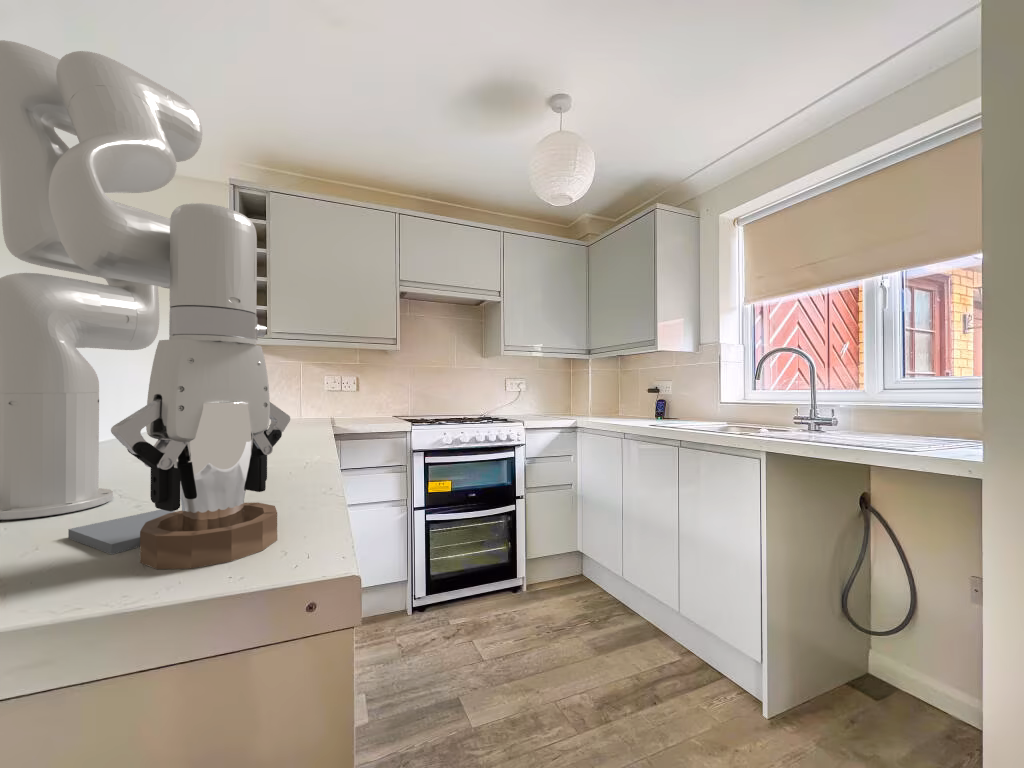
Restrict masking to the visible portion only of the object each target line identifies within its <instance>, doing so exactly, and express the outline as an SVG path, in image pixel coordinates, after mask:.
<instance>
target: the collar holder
mask: <svg viewBox="0 0 1024 768" xmlns="http://www.w3.org/2000/svg"><path fill="white" fill-rule="evenodd" d="M244 520H245V522H243V523H240V524H236V525H232V526H229V527H223V528H216V529H209V530H202V531H181V528H182V510H176V511H175V512H173V513H168V514H166V515H163V516H161V517H158V518H155V519H153V520H150V521H148V522H145V524H144V526H143V527H142V529H141V531H140V547H139V563H140V564H141V565H145V566H148V567H150V568H152V569H155V570H179V569H181V570H182V569H186V570H187V569H192V570H193V569H196V568H202V567H203V568H204V567H207V566H212V565H218V564H219V565H220V564H225V563H230V562H234V561H236V560H239V559H242V558H245V557H247V556H251V555H253V554H254V555H255V554H257V553H260V552H263V551H264V550H265V549H267V548H269V547H270V546H271V545H272V544H274V543H276V541H278V510H277V508H276V505H271V504H267V503H262V502H244Z"/></svg>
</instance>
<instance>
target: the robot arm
mask: <svg viewBox="0 0 1024 768" xmlns="http://www.w3.org/2000/svg"><path fill="white" fill-rule="evenodd" d="M55 129H57V130H61V131H64V132H66V133H69V134H71V135H73V136H76V137H77V140H78V143H77V144H75V145H73V146H72V147H69V146H68V145H67V143H66V142H65V141H63V139H62V138H61V137H60V136H59V134H58V133H57V132H56V130H55ZM202 141H203V126H202V122H201V119H200V118H199V114H198V113H197V111H196V110H195V108H194V107H193V105H192V104H190V102H189V101H188V100H186V99H185V98H184V97H182V96H181V95H179V94H177V93H175V92H174V91H172V90H170V89H168V88H167V87H164V86H163V85H161V84H159V83H157V82H156V81H154V80H152V79H150V78H148V77H147V76H145V75H143V74H141V73H139V72H138V71H136V70H134V69H132V68H130V67H128V66H127V65H125V64H124V63H121V62H120V61H117V60H115V59H113V58H111V57H108V56H107V55H103V54H100V53H96V52H92V51H87V50H84V51H83V50H78V51H72V52H69V53H66V54H65V55H63V56H62V57H61V58H57V57H55V56H54V55H52V54H49V53H46V52H44V51H42V50H41V49H40V50H39V49H37V48H34V47H32V46H29V45H27V44H23V43H19V42H15V41H12V40H10V41H9V40H3V39H2V40H0V204H1V205H0V206H1V207H0V208H1V222H2V223H1V224H2V225H1V226H2V236H3V239H4V243H5V246H6V248H7V250H8V251H9V253H10V254H11V255H12V256H13V257H14V258H17V259H18V260H20V261H22V262H25V263H28V264H31V265H36V266H39V267H45V268H50V269H54V270H59V271H60V270H61V271H63V272H65V271H66V272H70V273H74V274H80V275H86V276H92V277H97V278H102V279H104V280H105V281H106V283H107V284H104V283H98V282H91V281H88V280H83V279H77V278H71V277H65V276H59V275H53V274H48V273H47V274H46V273H35V272H19V273H17V272H16V273H11V274H7V275H4V276H1V277H0V521H9V520H23V519H34V518H41V517H48V516H56V515H62V514H67V513H73V512H77V511H82V510H87V509H90V508H95V507H98V506H102V505H104V504H106V503H108V502H111V501H112V500H113V499H114V491H113V490H111V489H110V488H109V489H108V488H99V470H100V469H99V462H100V461H99V455H100V453H99V452H100V450H99V449H100V447H99V446H100V443H99V442H100V431H99V430H100V381H99V377H98V374H97V372H96V370H95V369H94V367H93V366H92V365H91V364H90V362H89V361H88V360H87V359H86V358H85V357H84V356H83V355H82V354H81V352H80V351H79V350H78V349H86V348H89V349H103V350H117V351H119V350H121V351H136V350H137V351H138V350H143V349H146V348H147V347H150V346H151V345H152V344H153V343H154V342H155V340H156V339H157V336H158V333H159V330H160V329H159V328H160V302H159V300H160V299H159V298H160V297H159V287H160V288H164V289H169V310H168V311H169V313H168V314H169V316H168V318H169V320H168V322H169V324H168V328H169V329H168V330H169V332H168V334H169V335H168V337H169V339H161V340H158V343H157V345H156V349H155V352H154V353H155V354H154V357H153V361H152V364H151V365H152V366H151V372H150V377H149V384H148V390H147V391H148V392H147V400H146V405H145V406H143V407H141V408H140V409H138V410H136V411H134V412H133V413H132V414H130V415H129V416H126V417H125V418H124V419H122V420H120V421H119V422H117V423H115V424H114V425H112V426H111V428H110V433H111V434H112V435H113V436H114V438H116V439H117V440H118V441H119V443H121V445H122V446H124V447H125V448H126V450H127V452H128V453H129V454H131V456H134V457H135V458H136V459H138V460H139V461H141V462H142V463H143V464H144V465H145V466H146V467H147V468H150V501H151V502H152V503H153V504H154V507H155V508H156V509H157V510H161V509H162V510H166V511H170V512H171V511H175V512H177V511H179V509H180V508H181V499H180V469H179V468H174V463H175V461H176V460H177V458H178V457H179V455H180V454H181V452H182V451H183V449H184V448H185V446H186V445H187V442H190V441H192V440H193V439H195V437H196V433H197V429H198V426H199V422H200V419H201V415H202V411H203V404H204V403H233V402H250V410H251V417H252V426H253V454H252V461H251V467H250V472H249V477H248V482H247V487H246V491H251V492H256V493H263V492H265V491H266V487H267V486H266V482H267V480H268V455H269V456H270V455H271V454H272V453H273V447H274V446H276V444H277V443H278V442H279V440H280V439H281V438H282V436H283V432H285V429H286V428H287V427H288V425H289V424H290V421H291V416H290V415H289V414H288V413H287V412H285V411H284V410H282V409H280V408H279V407H278V406H277V405H275V404H274V403H272V402H271V400H270V387H269V378H268V370H267V365H266V359H265V356H264V355H265V354H264V351H263V347H262V345H259V344H257V341H258V338H259V337H262V338H263V337H265V336H266V334H267V327H266V326H265V325H263V324H259V323H258V320H259V319H258V316H257V298H258V297H257V291H258V290H257V284H258V283H257V282H258V281H257V279H258V278H257V277H258V275H257V274H258V273H257V272H258V270H257V269H258V267H257V266H258V265H257V264H258V263H257V262H258V261H257V260H258V256H257V255H258V252H257V251H258V245H257V244H258V243H257V242H258V237H257V236H258V235H257V229H256V226H255V224H254V223H253V221H252V220H251V219H250V218H249V217H247V216H246V215H245V214H243V213H241V212H239V211H236V210H234V209H231V208H228V207H225V206H223V205H222V206H221V205H218V204H217V205H216V204H212V203H203V202H201V203H200V202H199V203H198V202H196V203H195V202H194V203H193V202H191V203H184V204H181V205H179V206H177V207H176V208H174V210H172V212H171V214H170V217H167V216H163V215H161V214H157V213H153V212H151V211H148V210H145V209H141V208H138V207H135V206H130V205H128V204H125V203H121V202H118V201H114V200H112V199H111V198H110V197H108V196H107V194H140V193H141V194H143V193H148V192H149V193H150V192H153V191H156V190H159V189H161V188H163V187H165V186H167V185H169V184H170V183H171V181H172V180H173V178H174V177H175V175H176V172H177V167H178V166H177V163H180V162H181V163H182V162H186V161H188V160H190V159H192V158H193V157H194V156H195V155H196V154H197V153H198V152H199V149H200V148H201V145H202ZM144 428H145V429H146V434H147V435H148V437H150V438H152V439H154V440H156V442H155V443H154V445H152V444H151V443H149V442H147V441H146V439H145V438H144V436H143V435H142V434H141V431H142V430H143V429H144Z"/></svg>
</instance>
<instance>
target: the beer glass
mask: <svg viewBox="0 0 1024 768" xmlns="http://www.w3.org/2000/svg"><path fill="white" fill-rule="evenodd" d="M252 454H253V426H252V417H251V410H250V402H233V403H204V404H203V411H202V415H201V419H200V422H199V426H198V429H197V433H196V437H195V439H193V440H192V441H190V442H187V445H186V446H185V448H184V449H183V451H182V452H181V454H180V455H179V457H178V458H177V460H176V461H175V463H174V468H179V469H180V506H181V511H182V528H181V531H202V530H209V529H216V528H223V527H229V526H232V525H236V524H240V523H243V522H245V520H244V503H245V497H246V492H247V490H246V487H247V482H248V477H249V472H250V467H251V461H252Z"/></svg>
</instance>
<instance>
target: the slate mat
mask: <svg viewBox="0 0 1024 768" xmlns="http://www.w3.org/2000/svg"><path fill="white" fill-rule="evenodd" d="M173 512H176V511H171V512H170V511H166V510H162V509H155V510H152V511H148V512H143V513H142V512H141V513H137V514H133V515H128V516H124V517H120V518H115V519H109V520H105V521H101V522H96V523H91V524H85V525H82V526H78V527H77V526H76V527H72V528H68V536H67V537H68V539H69V540H72V541H75V542H77V543H80V544H83V545H85V546H88V547H90V548H93V549H96V550H99V551H101V552H104V553H106V554H108V555H114V554H119V553H122V552H125V551H131V550H133V549H137V548H140V531H141V529H142V527H143V526H144V524H145V522H148V521H150V520H153V519H155V518H158V517H161V516H163V515H166V514H168V513H173Z"/></svg>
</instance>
